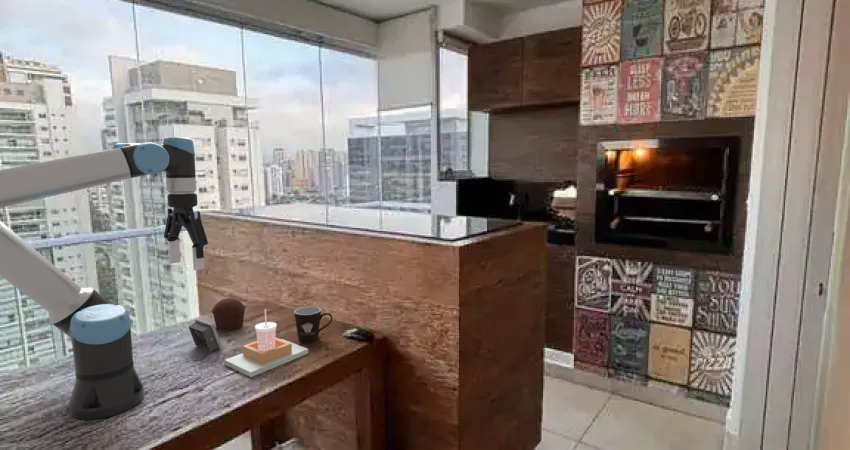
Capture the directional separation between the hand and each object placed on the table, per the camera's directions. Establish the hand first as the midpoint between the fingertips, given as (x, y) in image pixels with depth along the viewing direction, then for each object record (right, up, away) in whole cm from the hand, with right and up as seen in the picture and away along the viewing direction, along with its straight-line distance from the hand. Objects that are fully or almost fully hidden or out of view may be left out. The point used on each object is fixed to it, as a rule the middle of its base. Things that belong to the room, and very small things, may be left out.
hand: (186, 266), depth 134 cm
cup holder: (+22, -28, +5) cm, 36 cm away
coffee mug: (+32, -27, +20) cm, 46 cm away
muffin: (-1, -25, +32) cm, 40 cm away
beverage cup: (+21, -27, +5) cm, 35 cm away
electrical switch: (0, -27, +13) cm, 30 cm away
